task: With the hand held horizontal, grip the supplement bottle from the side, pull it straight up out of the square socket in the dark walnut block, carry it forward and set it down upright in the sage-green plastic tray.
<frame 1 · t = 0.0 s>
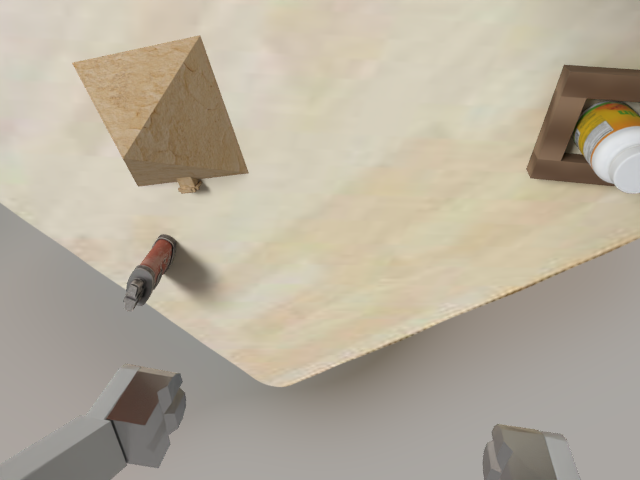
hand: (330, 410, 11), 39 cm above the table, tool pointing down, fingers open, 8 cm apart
lighter: (163, 252, 65), on the table
socket block: (601, 125, 43), on the table
supplement bottle: (600, 124, 43), resting in socket block
model pyramid: (168, 121, 51), on the table
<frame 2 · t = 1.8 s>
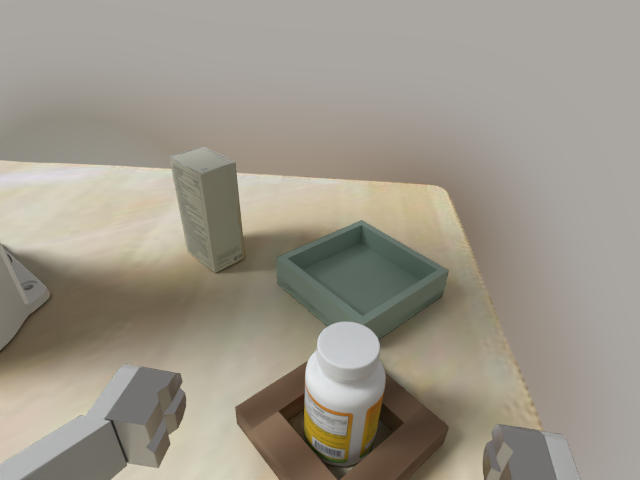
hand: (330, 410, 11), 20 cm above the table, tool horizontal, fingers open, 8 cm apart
socket block: (339, 432, 32), on the table
skincare box: (214, 256, 51), on the table
tray: (358, 289, 46), on the table
supplement bottle: (339, 434, 32), resting in socket block
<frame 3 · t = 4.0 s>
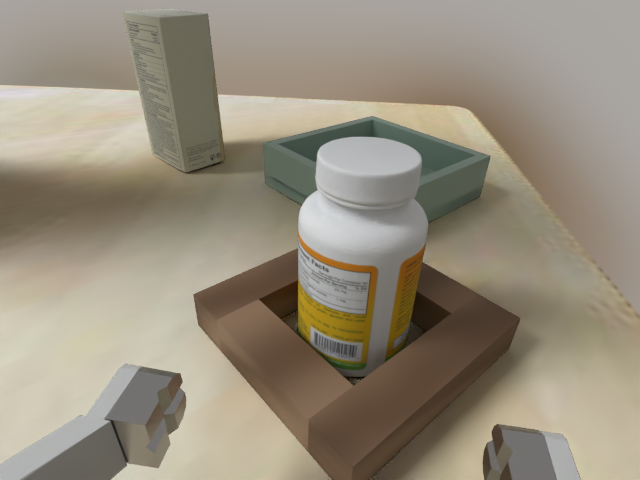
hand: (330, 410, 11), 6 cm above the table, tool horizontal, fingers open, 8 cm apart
socket block: (351, 336, 21), on the table
skincare box: (187, 160, 40), on the table
tray: (371, 189, 36), on the table
supplement bottle: (350, 339, 22), resting in socket block
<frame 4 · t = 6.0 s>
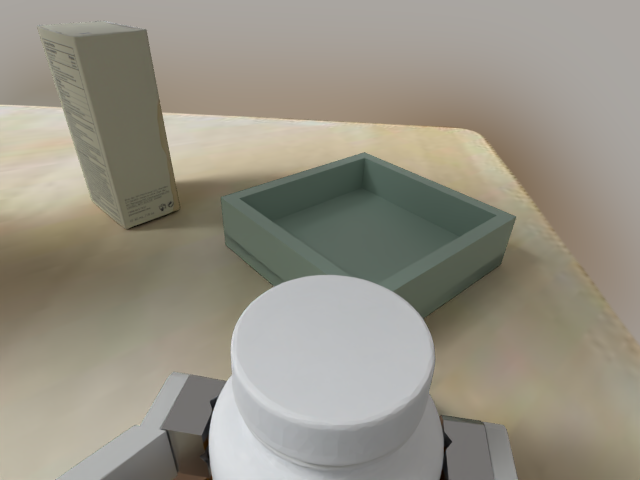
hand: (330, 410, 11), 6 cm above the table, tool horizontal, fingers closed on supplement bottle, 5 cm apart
skincare box: (134, 208, 32), on the table
tray: (361, 254, 28), on the table
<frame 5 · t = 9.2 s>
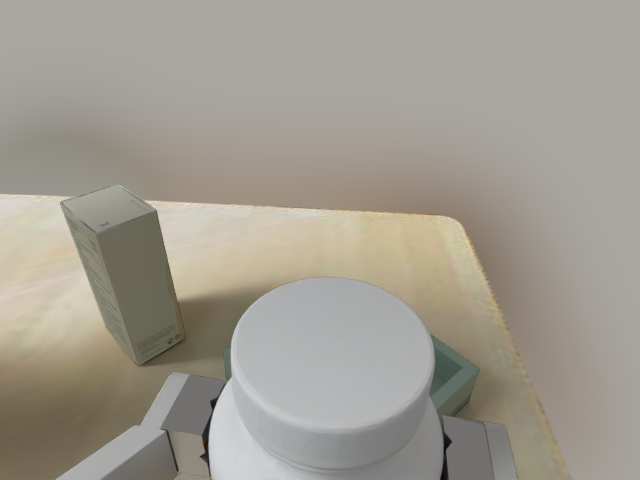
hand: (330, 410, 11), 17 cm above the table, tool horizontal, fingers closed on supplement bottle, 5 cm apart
skincare box: (144, 335, 36), on the table
tray: (346, 391, 32), on the table
when the fingers open (8 cm above the table, at t = 12.5 s): supplement bottle drops 1 cm, resting on tray.
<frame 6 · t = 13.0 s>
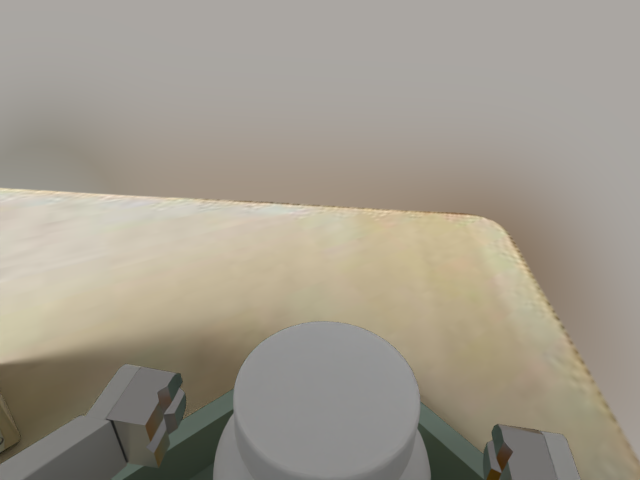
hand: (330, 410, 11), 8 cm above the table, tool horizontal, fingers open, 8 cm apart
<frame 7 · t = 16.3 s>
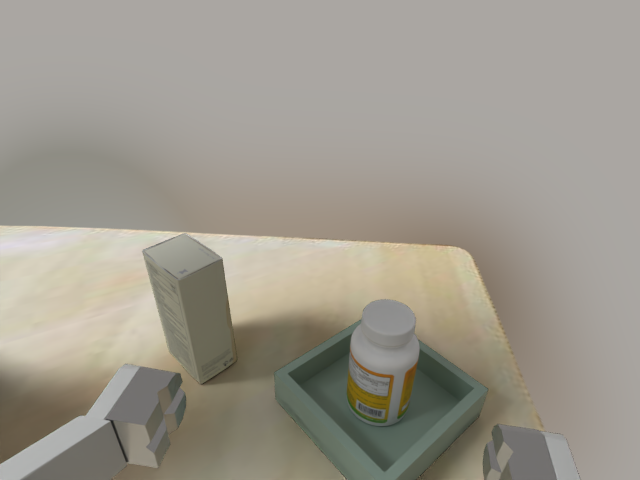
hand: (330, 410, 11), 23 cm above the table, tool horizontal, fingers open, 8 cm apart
skincare box: (201, 357, 42), on the table
tray: (376, 407, 38), on the table
supplement bottle: (376, 402, 37), point 1 cm above the table, touching tray
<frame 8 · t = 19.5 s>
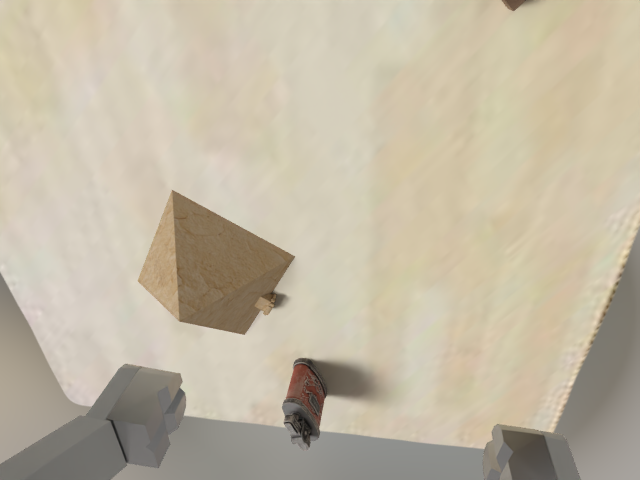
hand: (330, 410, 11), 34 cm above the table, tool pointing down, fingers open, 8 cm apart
lighter: (311, 376, 63), on the table
model pyramid: (216, 267, 55), on the table
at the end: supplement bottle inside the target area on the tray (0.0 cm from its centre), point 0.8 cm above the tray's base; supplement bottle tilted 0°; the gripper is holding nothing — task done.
